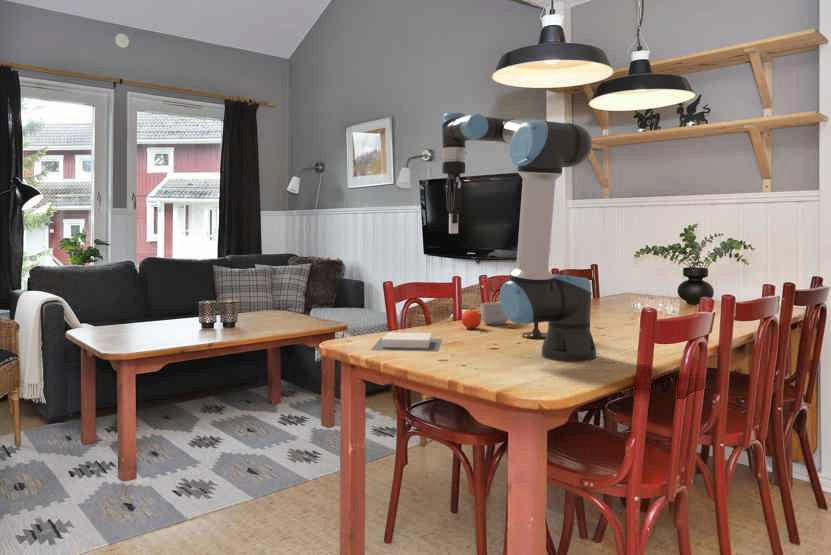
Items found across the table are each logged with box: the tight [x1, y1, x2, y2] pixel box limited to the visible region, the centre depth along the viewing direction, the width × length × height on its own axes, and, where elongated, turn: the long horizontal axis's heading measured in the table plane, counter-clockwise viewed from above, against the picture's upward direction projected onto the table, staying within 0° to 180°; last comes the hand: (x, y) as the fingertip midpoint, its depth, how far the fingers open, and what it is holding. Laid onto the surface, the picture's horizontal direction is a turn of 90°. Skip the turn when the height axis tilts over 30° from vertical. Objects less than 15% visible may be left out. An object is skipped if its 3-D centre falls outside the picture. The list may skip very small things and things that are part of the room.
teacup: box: [479, 301, 509, 326], centre depth 246 cm, size 14×11×8 cm
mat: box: [370, 337, 443, 352], centre depth 203 cm, size 20×20×1 cm
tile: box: [382, 331, 433, 349], centre depth 202 cm, size 3×14×12 cm
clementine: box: [461, 308, 482, 330], centre depth 235 cm, size 8×7×7 cm
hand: (453, 233), depth 218 cm, fingers closed
